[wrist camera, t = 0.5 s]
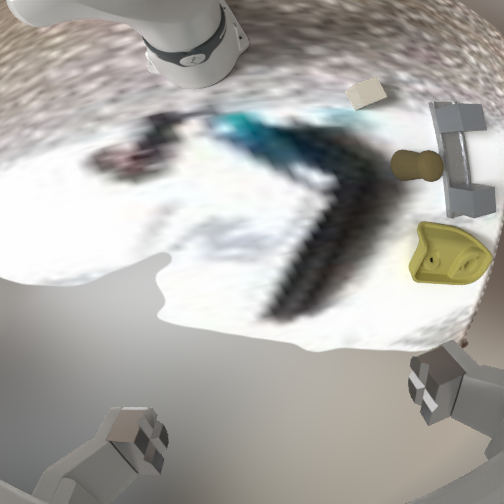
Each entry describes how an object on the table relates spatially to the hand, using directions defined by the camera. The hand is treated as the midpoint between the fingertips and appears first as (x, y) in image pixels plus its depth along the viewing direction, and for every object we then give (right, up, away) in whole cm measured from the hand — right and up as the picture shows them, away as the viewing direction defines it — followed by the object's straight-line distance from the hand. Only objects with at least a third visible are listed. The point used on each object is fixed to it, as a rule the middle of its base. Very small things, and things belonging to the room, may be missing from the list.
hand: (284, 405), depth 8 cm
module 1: (+39, +31, +36) cm, 62 cm away
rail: (+41, +24, +40) cm, 62 cm away
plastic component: (+40, +4, +46) cm, 61 cm away
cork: (+28, +21, +41) cm, 54 cm away
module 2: (+43, +16, +41) cm, 61 cm away
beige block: (+19, +33, +38) cm, 53 cm away
